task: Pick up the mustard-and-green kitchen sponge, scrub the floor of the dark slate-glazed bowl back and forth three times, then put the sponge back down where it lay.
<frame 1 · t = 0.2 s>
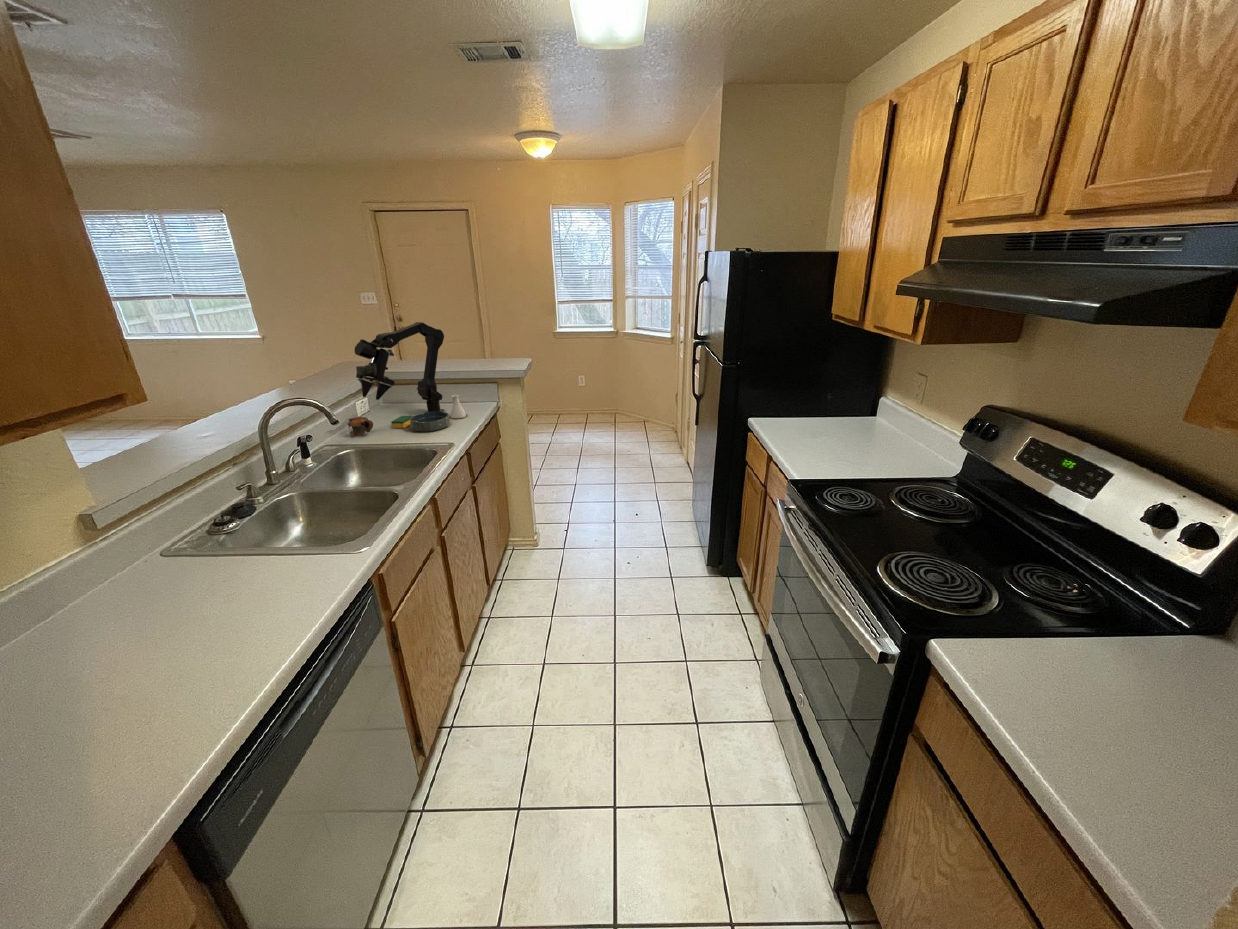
hand: (370, 398, 215), 14 cm above the counter, tool tilted 30°, fingers open, 9 cm apart
pottery mug: (363, 433, 216), on the counter
bowl: (431, 426, 222), on the counter
flask: (458, 417, 235), on the counter
sponge: (403, 425, 225), on the counter
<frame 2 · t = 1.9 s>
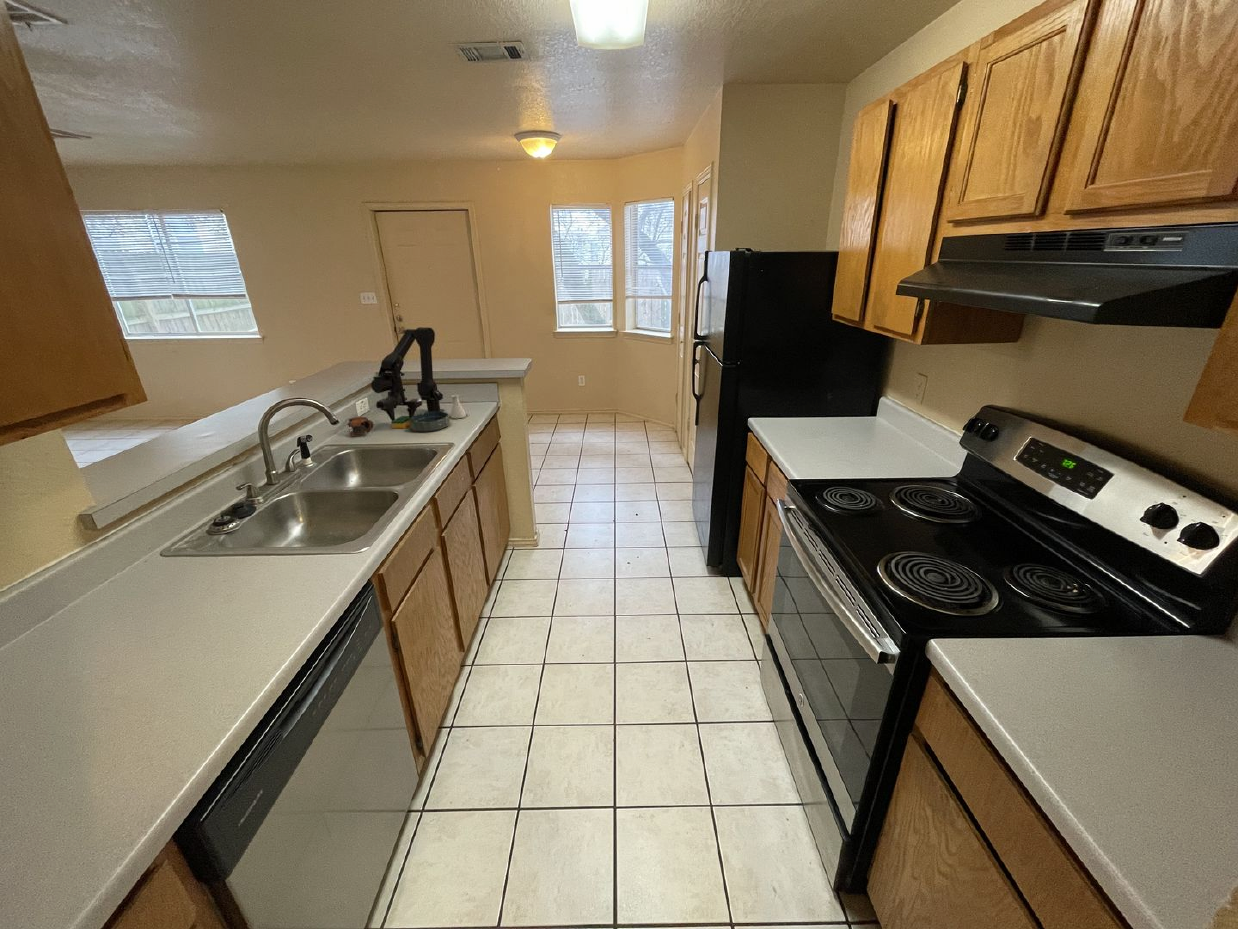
hand: (402, 422, 225), 1 cm above the counter, tool pointing down, fingers open, 8 cm apart
nothing on the counter moved.
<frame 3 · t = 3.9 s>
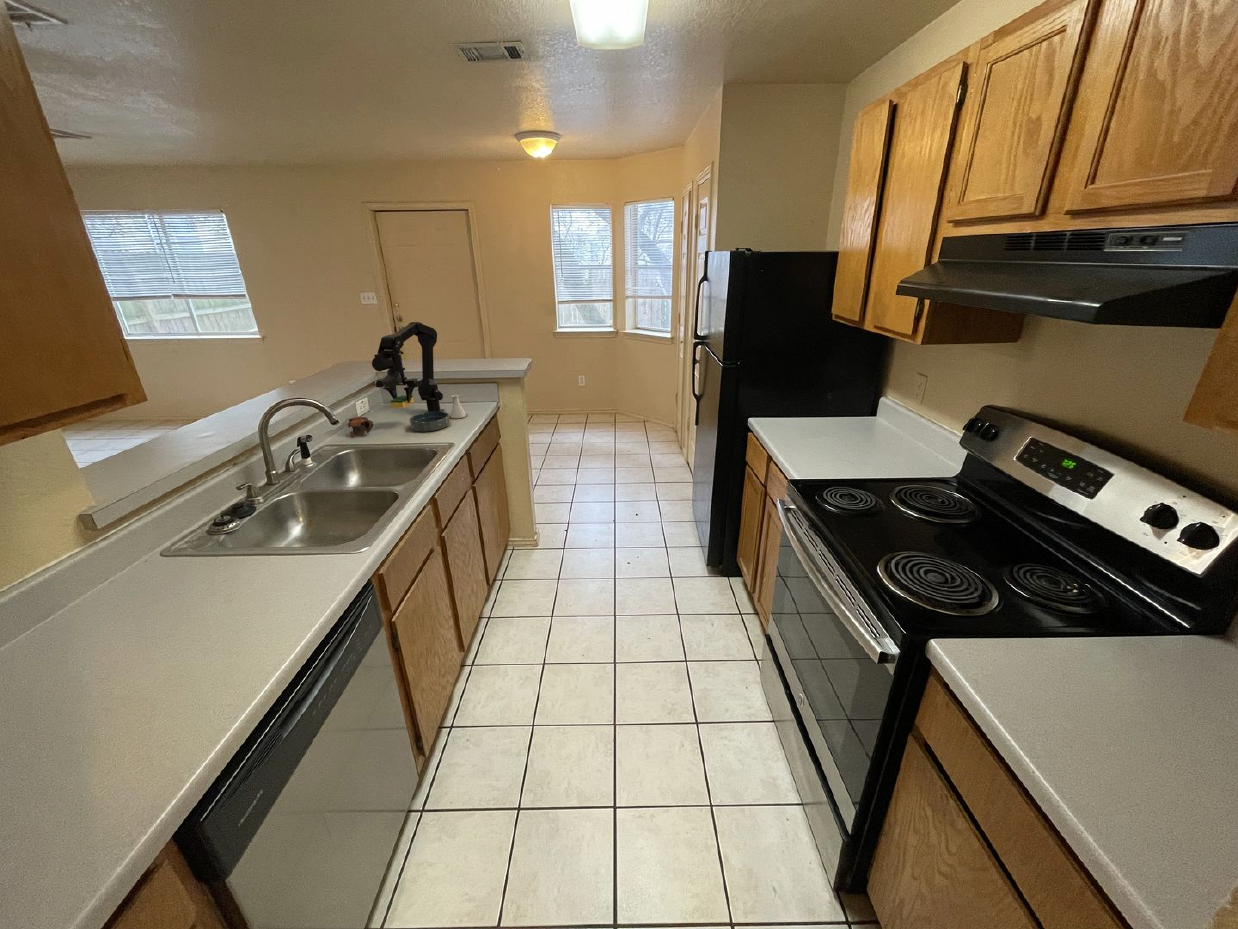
hand: (402, 402, 221), 11 cm above the counter, tool pointing down, fingers closed on sponge, 5 cm apart
sponge: (403, 404, 221), point 10 cm above the counter, touching gripper
everything else where it was.
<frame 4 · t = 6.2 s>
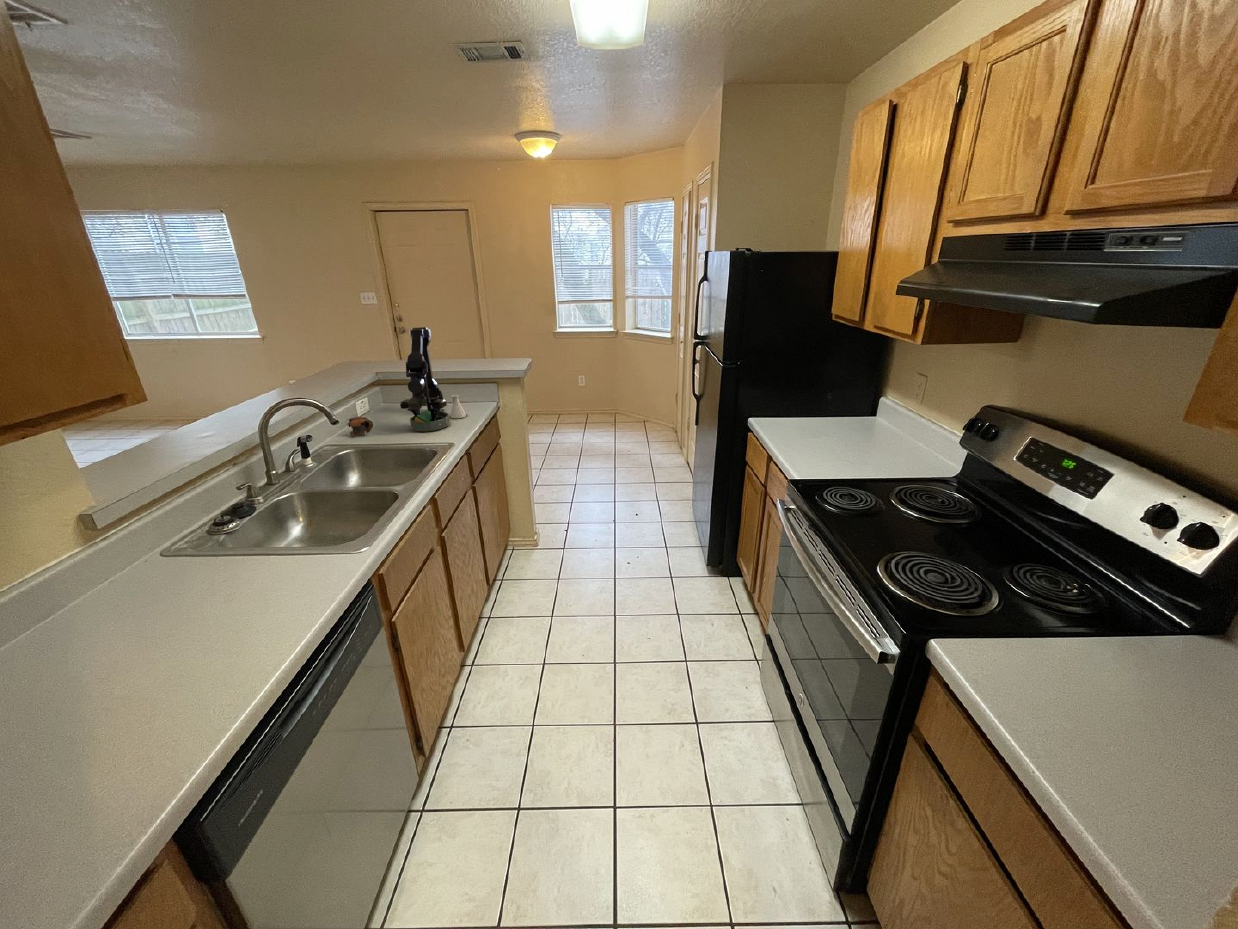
hand: (426, 423, 221), 2 cm above the counter, tool pointing down, fingers closed on sponge, 6 cm apart
sponge: (424, 421, 221), point 2 cm above the counter, tilted 30°, touching gripper
everything else where it was.
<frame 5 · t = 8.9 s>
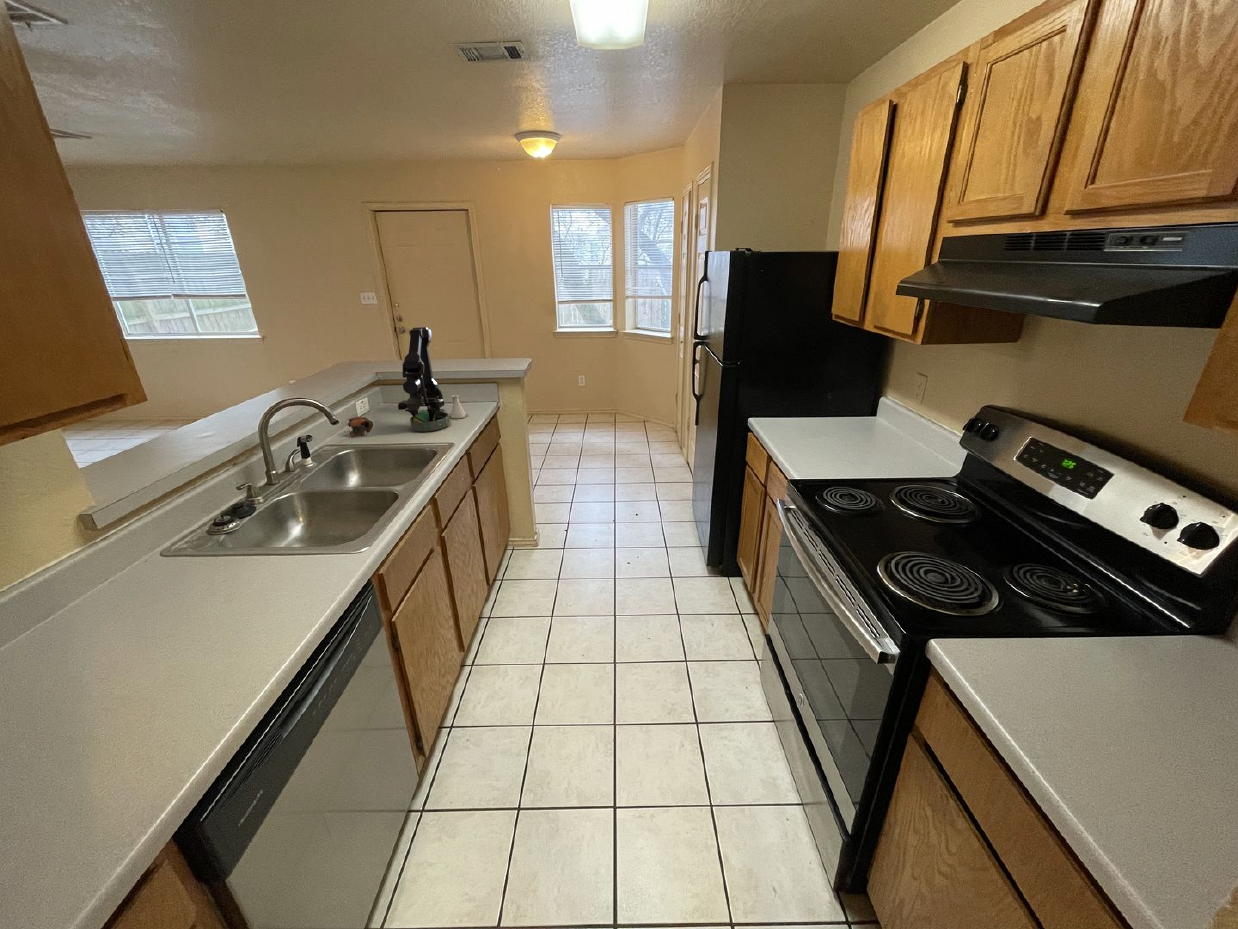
hand: (425, 423, 222), 1 cm above the counter, tool pointing down, fingers closed on sponge, 6 cm apart
sponge: (423, 421, 221), point 2 cm above the counter, tilted 27°, touching gripper
everything else where it was.
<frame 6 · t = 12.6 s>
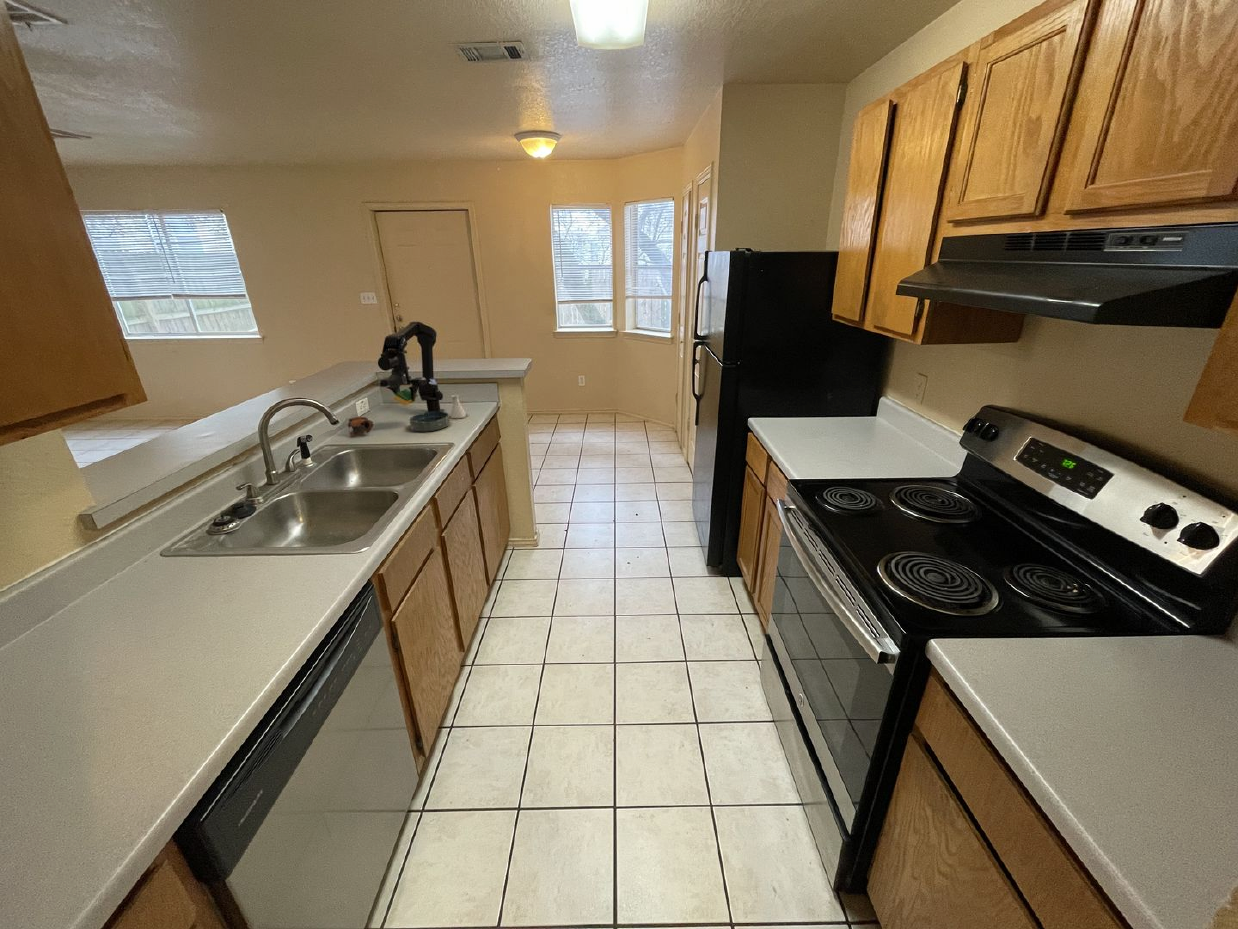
hand: (406, 401, 220), 11 cm above the counter, tool pointing down, fingers closed on sponge, 6 cm apart
sponge: (404, 400, 220), point 12 cm above the counter, tilted 30°, touching gripper
everything else where it was.
when the fingers open (1 cm above the counter, at t = 15.8 s): sponge stays where it is, on the counter.
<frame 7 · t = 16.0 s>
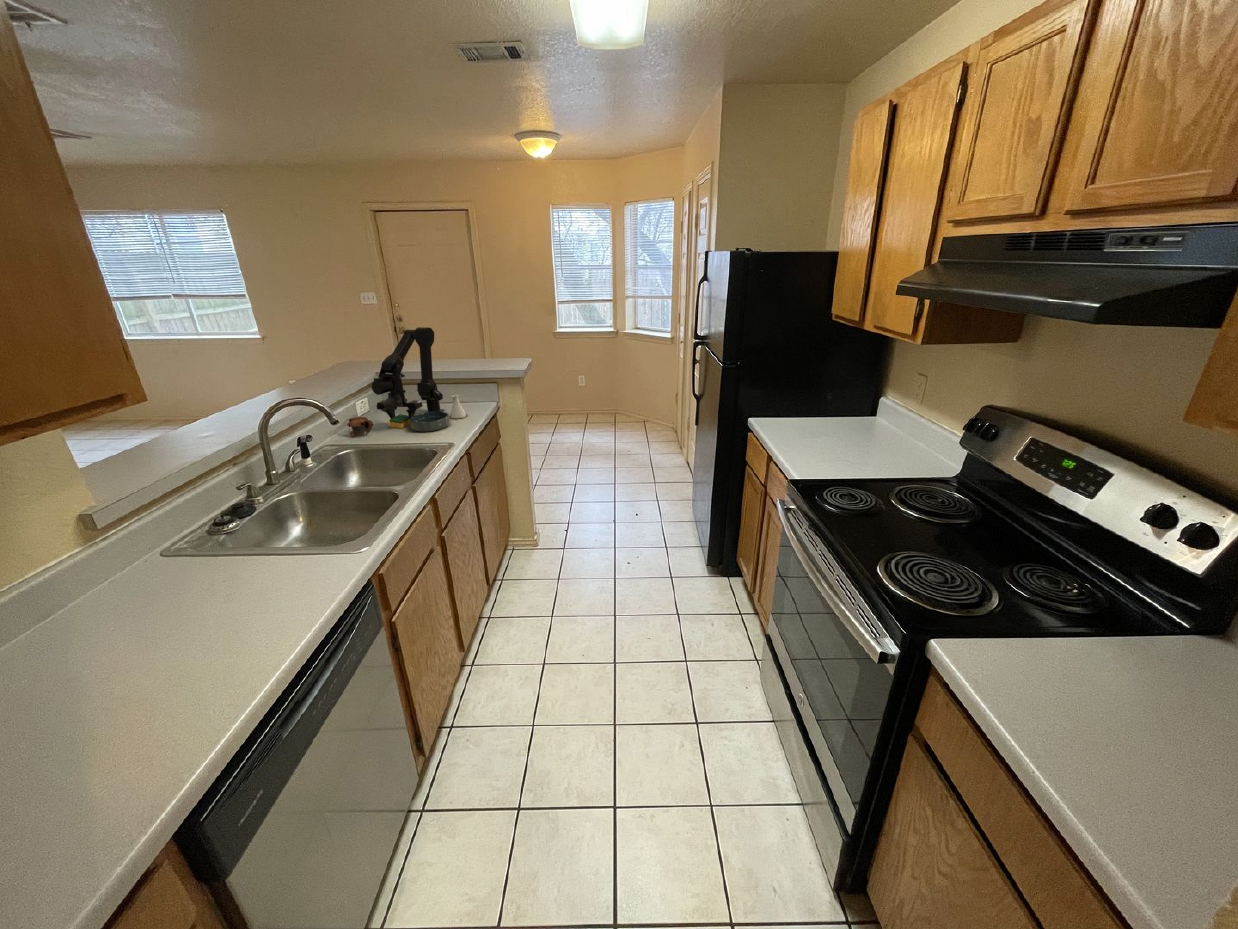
hand: (403, 423, 225), 1 cm above the counter, tool pointing down, fingers open, 7 cm apart
sponge: (400, 424, 225), on the counter, tilted 10°
everything else where it was.
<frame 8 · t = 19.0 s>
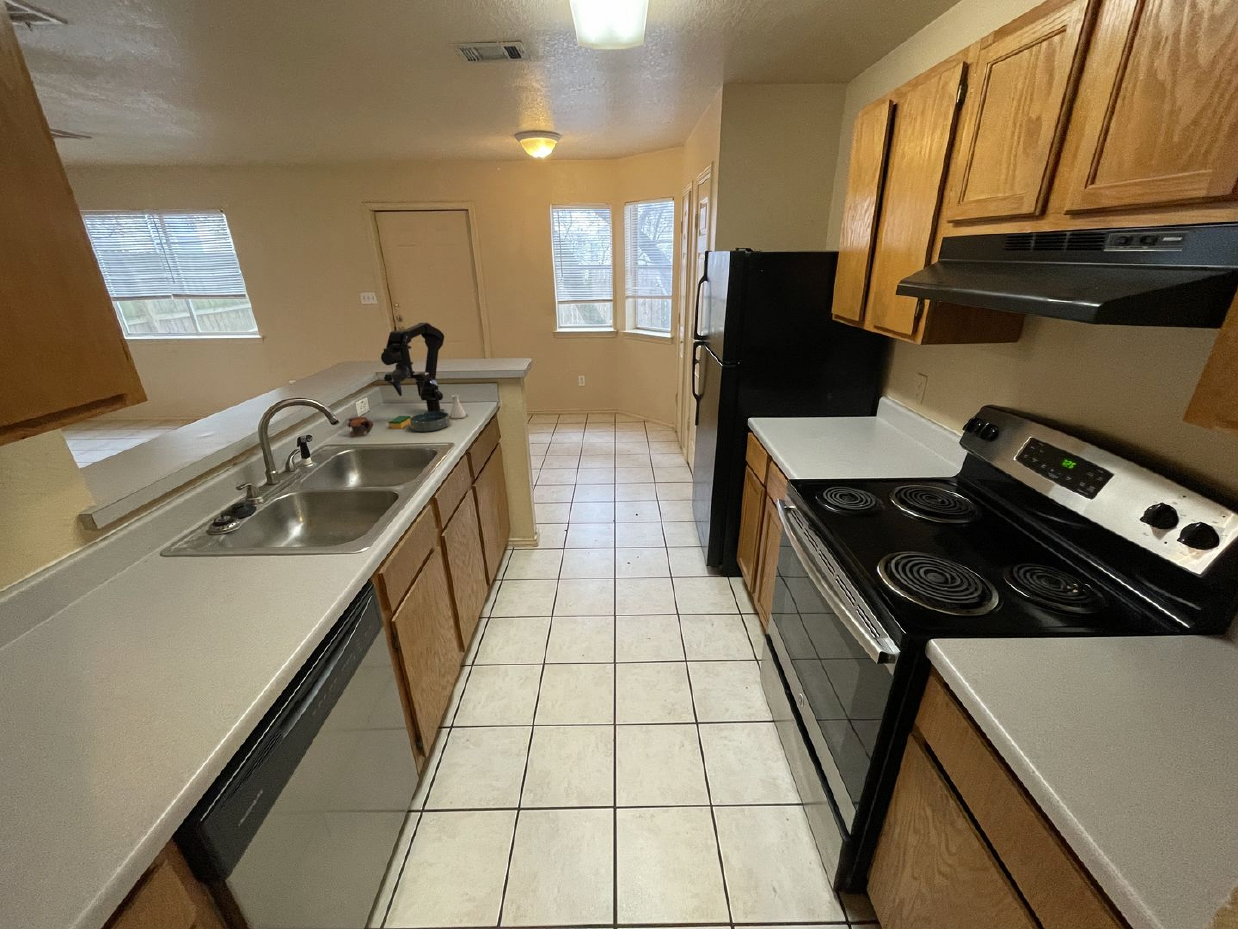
hand: (410, 395, 225), 12 cm above the counter, tool pointing down, fingers open, 9 cm apart
sponge: (401, 425, 225), on the counter
everything else where it was.
at the end: sponge inside the target area (1.1 cm from its centre), on the counter; sponge tilted 0°; the gripper is holding nothing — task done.
